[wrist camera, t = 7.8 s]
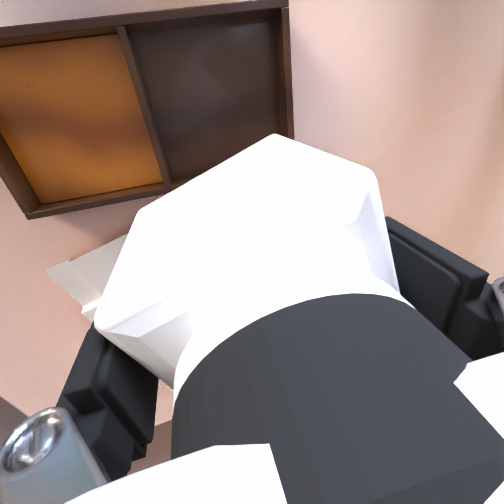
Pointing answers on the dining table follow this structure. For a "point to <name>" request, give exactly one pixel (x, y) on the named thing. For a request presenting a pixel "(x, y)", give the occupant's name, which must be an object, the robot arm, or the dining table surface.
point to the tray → (88, 275)
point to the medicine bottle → (298, 334)
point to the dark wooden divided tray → (138, 100)
